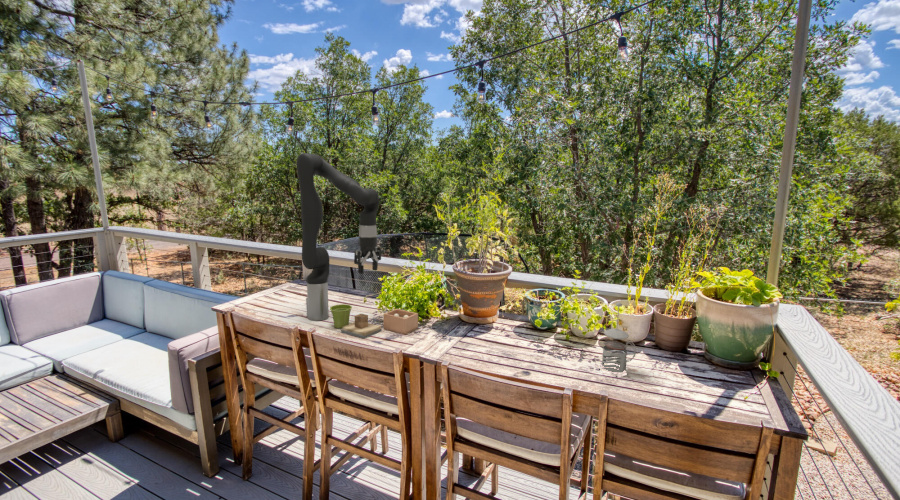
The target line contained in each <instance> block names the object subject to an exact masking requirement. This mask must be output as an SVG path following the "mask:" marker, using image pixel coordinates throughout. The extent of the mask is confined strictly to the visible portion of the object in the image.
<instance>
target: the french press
mask: <svg viewBox="0 0 900 500" xmlns="http://www.w3.org/2000/svg"><path fill="white" fill-rule="evenodd" d="M615 306H616V307H618V308H617V315H619V312H620V307H622V306H623V304H622V302H620V301H619V302H616V303H615ZM618 324H619V317H617V319H616V326H618ZM603 334H604V336H606V337H608V338H610V339H613V340H609V341H606V342H604V346H603V349H602V358H601V359H602V360H601V365H603V366H604V367H616V368H619V370H617V369H614V368H604V369H606V370H608V371H612V372H623V371H624V370H626V371H627V363H628V362H631V361H633V359H634V358H635V357H636V354H637V347H636V345H635V344H634V342H633V341H632V340H630V339H629V338H630V337H629V336H630V335H629V334H628V332H626V331H625V330H622V329H619V328H609V329H606V330H604V331H603ZM626 339H627V341H625V343H622V342H620V341H617V340H626ZM629 344H630V345H631V347H632V349H633V356H632V358H630V359H629V358H628V359H627V357H628V356H627V355H628V354H627V353H628V350H627V346H628V345H629ZM604 363H615V364H618V365H620V367H619V366H616V365H604Z"/></svg>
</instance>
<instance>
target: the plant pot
mask: <svg viewBox="0 0 900 500" xmlns="http://www.w3.org/2000/svg"><path fill="white" fill-rule="evenodd" d="M352 309H353V306H352V305H350V304H341V303H340V304H336V305H332V306H330V307H329V310H330V312H331V316H332V320H333V326H334V328H335V329H342V327H343V326H346V325H348V324H350V314H351V311H352Z"/></svg>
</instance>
